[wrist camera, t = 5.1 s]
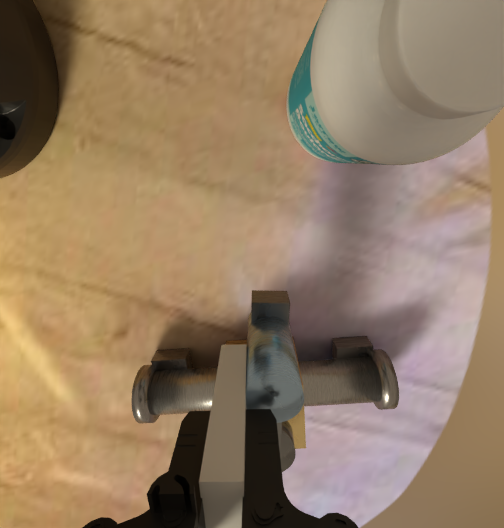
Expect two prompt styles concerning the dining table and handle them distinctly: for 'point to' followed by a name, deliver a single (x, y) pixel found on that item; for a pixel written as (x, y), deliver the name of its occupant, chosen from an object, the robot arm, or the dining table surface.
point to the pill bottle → (397, 79)
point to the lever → (273, 366)
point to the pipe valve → (311, 373)
